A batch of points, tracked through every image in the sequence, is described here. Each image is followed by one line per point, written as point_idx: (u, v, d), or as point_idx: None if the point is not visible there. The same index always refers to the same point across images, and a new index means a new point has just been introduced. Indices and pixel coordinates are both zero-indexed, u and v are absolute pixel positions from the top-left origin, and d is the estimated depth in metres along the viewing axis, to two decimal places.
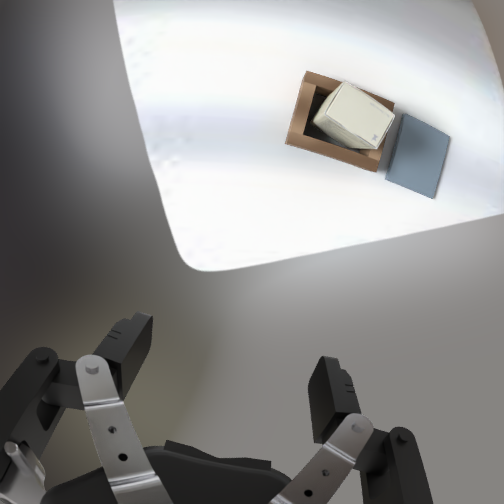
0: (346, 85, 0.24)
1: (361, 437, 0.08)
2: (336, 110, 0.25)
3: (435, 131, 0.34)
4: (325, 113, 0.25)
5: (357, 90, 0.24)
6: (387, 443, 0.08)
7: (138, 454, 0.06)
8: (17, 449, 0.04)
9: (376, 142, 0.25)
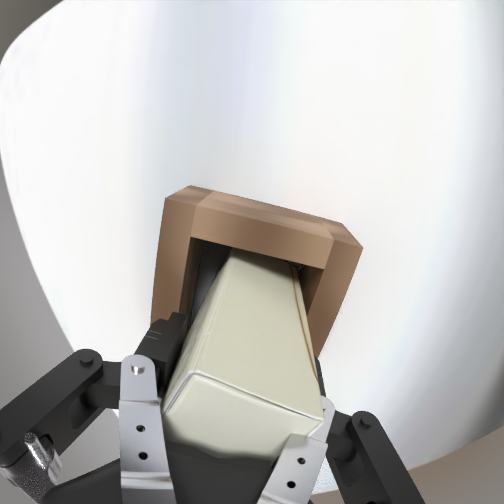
0: (308, 424, 0.08)
1: None
2: (214, 402, 0.07)
3: None
4: (196, 373, 0.07)
5: None
6: (351, 430, 0.09)
7: (159, 456, 0.06)
8: (36, 441, 0.05)
9: None
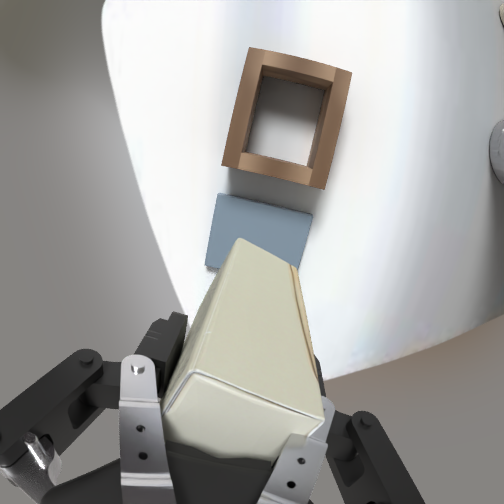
0: (308, 424, 0.08)
1: None
2: (214, 402, 0.07)
3: (295, 262, 0.32)
4: (196, 372, 0.07)
5: None
6: (351, 430, 0.09)
7: (159, 456, 0.06)
8: (36, 441, 0.05)
9: None
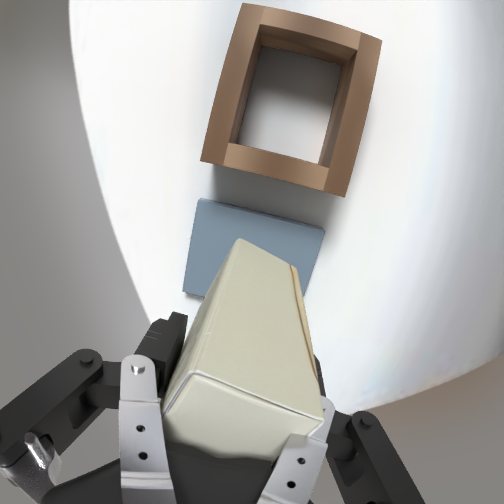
0: (308, 424, 0.07)
1: None
2: (214, 402, 0.07)
3: None
4: (196, 373, 0.07)
5: None
6: (351, 430, 0.09)
7: (159, 456, 0.06)
8: (36, 441, 0.05)
9: None
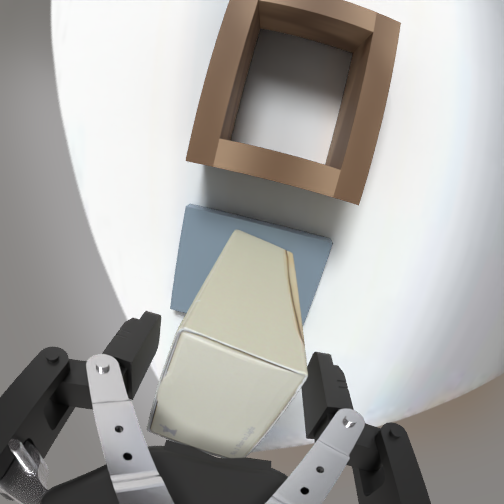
0: (293, 379, 0.09)
1: (352, 432, 0.08)
2: (203, 359, 0.09)
3: (303, 309, 0.21)
4: (184, 331, 0.08)
5: (284, 403, 0.09)
6: (379, 439, 0.08)
7: (143, 455, 0.06)
8: (21, 447, 0.05)
9: (160, 431, 0.10)
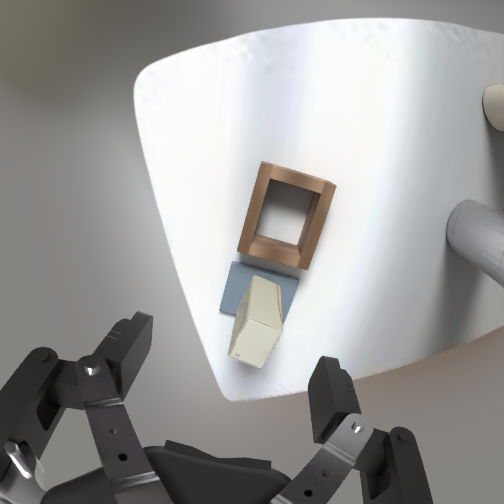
0: (278, 332, 0.32)
1: (361, 437, 0.08)
2: (253, 326, 0.32)
3: (285, 311, 0.45)
4: (249, 318, 0.31)
5: (276, 341, 0.32)
6: (387, 443, 0.08)
7: (138, 454, 0.06)
8: (17, 449, 0.04)
9: (233, 356, 0.33)
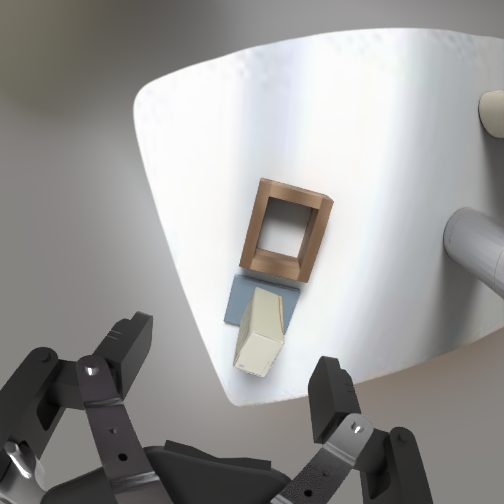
0: (280, 344, 0.33)
1: (361, 437, 0.08)
2: (256, 339, 0.33)
3: (287, 320, 0.46)
4: (252, 332, 0.33)
5: (278, 352, 0.34)
6: (387, 443, 0.08)
7: (138, 454, 0.06)
8: (17, 449, 0.04)
9: (238, 366, 0.35)
